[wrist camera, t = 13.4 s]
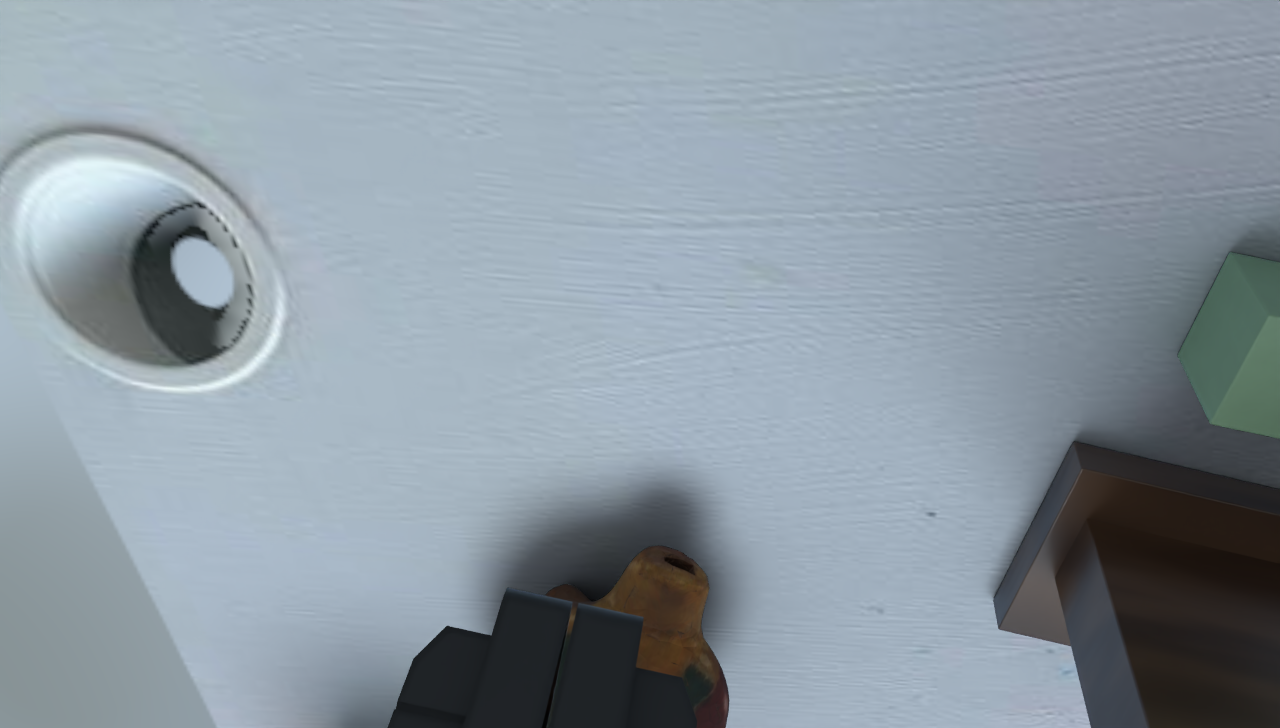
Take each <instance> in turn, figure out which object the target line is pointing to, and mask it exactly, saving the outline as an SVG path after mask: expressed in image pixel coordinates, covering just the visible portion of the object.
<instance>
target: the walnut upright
mask: <svg viewBox="0 0 1280 728" xmlns="http://www.w3.org/2000/svg"><path fill="white" fill-rule="evenodd" d="M993 602H994V607H995V613H996V619H997V624H998V629H1000V630H1004V631H1008V632H1012V633H1017V634H1021V635H1025V636H1030V637H1034V638H1038V639H1042V640H1047V641H1051V642H1055V643H1059V644H1064V645H1068V646H1071V647H1072V651H1073V656H1074V660H1075V664H1076V668H1077V672H1078V676H1079V680H1080V684H1081V688H1082V692H1083V696H1084V701H1085V705H1086V709H1087V713H1088V717H1089V721H1090V725H1091V728H1280V490H1278V489H1274V488H1270V487H1266V486H1261V485H1257V484H1253V483H1249V482H1244V481H1240V480H1236V479H1232V478H1227V477H1223V476H1219V475H1214V474H1210V473H1206V472H1202V471H1197V470H1193V469H1189V468H1185V467H1180V466H1176V465H1172V464H1168V463H1163V462H1159V461H1155V460H1150V459H1146V458H1142V457H1138V456H1133V455H1129V454H1125V453H1121V452H1116V451H1112V450H1108V449H1103V448H1099V447H1095V446H1091V445H1086V444H1082V443H1078V442H1073V444H1072V446H1071V448H1070V450H1069V452H1068V454H1067V456H1066V458H1065V460H1064V462H1063V463H1062V465H1061V467H1060V469H1059V471H1058V473H1057V475H1056V477H1055V479H1054V481H1053V483H1052V485H1051V487H1050V489H1049V491H1048V493H1047V495H1046V497H1045V499H1044V501H1043V503H1042V505H1041V507H1040V509H1039V511H1038V513H1037V515H1036V517H1035V519H1034V521H1033V523H1032V525H1031V527H1030V529H1029V531H1028V533H1027V535H1026V537H1025V538H1024V540H1023V542H1022V544H1021V546H1020V548H1019V550H1018V552H1017V554H1016V556H1015V558H1014V560H1013V562H1012V564H1011V566H1010V568H1009V570H1008V572H1007V574H1006V576H1005V578H1004V580H1003V582H1002V584H1001V586H1000V588H999V590H998V592H997V594H996V596H995V598H994V600H993Z"/></svg>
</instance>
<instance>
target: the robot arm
mask: <svg viewBox="0 0 1280 728" xmlns="http://www.w3.org/2000/svg"><path fill="white" fill-rule="evenodd" d="M572 603H573V602H571V601H567V600H562V599H558V598H553V597H548V596H544V595H539V594H535V593H530V592H526V591H521V590H517V589H512V588H507V589H506V592H505V594H504V597H503V600H502V603H501V606H500V610H499V613H498V616H497V619H496V622H495V626H494V629H493V632H492V635H491V636H490V635H486V634H481V633H477V632H472V631H468V630H463V629H459V628H454V627H450V626H446V627H445V628H444V629H443V630H442V631H441V632H440V633H439V634H438V635H437V636H436V637H435V638H434V639H433V640H432V641H431V642H430V643H429V644H428V645H427V646H426V647H425V648H424V649H423V650H422V651H421V652H420V653H419V654H418V655H417V656H416V657H415V658H414V659H413V661H412V664H411V667H410V669H409V672H408V675H407V677H406V680H405V683H404V685H403V688H402V691H401V693H400V696H399V698H398V701H397V706H396V709H394V712H393V714H392V717H391V720H390V722H389V725H388V728H547V724H548V720H549V715H550V711H551V706H552V701H553V697H554V692H555V687H556V682H557V677H558V672H559V667H560V662H561V658H562V653H563V648H564V643H565V638H566V633H567V628H568V623H569V619H570V614H571V609H572ZM643 619H644V618H643V617H641V616H636V615H632V614H627V613H623V612H618V611H613V610H609V609H604V608H600V607H595V606H591V605H586V604H582V603H578V607H577V611H576V615H575V619H574V624H573V628H572V632H571V636H570V641H569V645H568V649H567V653H566V658H565V662H564V666H563V670H562V675H561V679H560V683H559V687H558V692H557V696H556V700H555V704H554V709H553V713H552V717H551V721H550V726H549V728H697V719H696V716H695V713H694V710H693V707H692V704H691V702H690V699H689V696H688V693H687V690H686V687H685V685H684V682H683V679H682V677H678V676H673V675H669V674H664V673H660V672H655V671H651V670H646V669H642V668H637V667H636V663H637V657H638V651H639V645H640V639H641V633H642V627H643Z"/></svg>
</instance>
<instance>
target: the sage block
mask: <svg viewBox="0 0 1280 728" xmlns="http://www.w3.org/2000/svg"><path fill="white" fill-rule="evenodd" d="M1178 358H1179V360H1180V362H1181V364H1182V366H1183V368H1184V370H1185V373H1186V375H1187V377H1188V379H1189V381H1190V383H1191V385H1192V387H1193V389H1194V391H1195V393H1196V396H1197V398H1198V400H1199V402H1200V404H1201V406H1202V408H1203V410H1204V412H1205V414H1206V416H1207V419H1208V421H1209V423H1210V424H1212V425H1216V426H1221V427H1225V428H1230V429H1235V430H1240V431H1244V432H1249V433H1254V434H1259V435H1263V436H1268V437H1273V438H1278V439H1280V262H1275V261H1270V260H1265V259H1260V258H1256V257H1251V256H1246V255H1241V254H1236V253H1232V252H1230V253H1229V254H1228V256H1227V258H1226V260H1225V262H1224V264H1223V266H1222V268H1221V270H1220V272H1219V274H1218V276H1217V278H1216V280H1215V282H1214V284H1213V286H1212V288H1211V290H1210V292H1209V294H1208V296H1207V298H1206V300H1205V302H1204V304H1203V306H1202V308H1201V310H1200V312H1199V314H1198V316H1197V317H1196V319H1195V321H1194V323H1193V325H1192V327H1191V329H1190V331H1189V333H1188V335H1187V337H1186V339H1185V341H1184V343H1183V345H1182V347H1181V349H1180V351H1179V353H1178Z"/></svg>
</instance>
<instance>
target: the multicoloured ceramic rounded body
mask: <svg viewBox="0 0 1280 728" xmlns="http://www.w3.org/2000/svg"><path fill="white" fill-rule="evenodd" d="M708 592H709V583H708V578H707V576H706V574H705V573H704V571H703V570H702V569H701V568H700V567H699V566H698V564H697V563H696V562H695V561H694V560H693V559H691V558H689V557H687V555H685V554H684V553H682V552H680V551H678V550H675V549H672V548H669V547H665V546H651V547H647V548H646V549H644V550H643V551H641V552H640V553H639V554H638V555H637V556H636V557H635V558H634V559H633V560H632V561H631V563H630V564H629V565H628V566H627V568H626V569H625V571H624V572H623V574H622V576H621V577H620V579H619V580H618V582H617V583H616V585H615V586H614V587H613V588H612V590H611V591H610V592H609V593H608V594H607V595H606V596H604V597H603V598H602V599H599V600H597V601H590V600H589V599H588V598H587V597H586V596H585V595H584V594H583V593H582V592H581V591H580V590H579V589H578V588H576V587H574V586H572V585H569V584H563V585H560V586H557V587H555V588H553V589H552V590H550V591H549V592H548V593H547V594H546V595H544V596H548V597H553V598H558V599H562V600H567V601H571V602H573V603H572V609H571V614H570V619H569V623H568V628H567V633H566V638H565V643H564V648H563V653H562V658H561V662H560V667H559V672H558V677H557V682H556V687H555V692H554V697H553V701H552V706H551V711H550V715H549V720H548V724H547V728H549V726H550V721H551V717H552V713H553V709H554V704H555V700H556V696H557V692H558V687H559V683H560V679H561V675H562V670H563V666H564V662H565V658H566V653H567V649H568V645H569V641H570V636H571V632H572V628H573V624H574V619H575V615H576V611H577V607H578V603H582V604H586V605H591V606H595V607H600V608H604V609H609V610H613V611H618V612H623V613H627V614H632V615H636V616H641V617H643V618H644V619H643V627H642V633H641V639H640V645H639V651H638V657H637V663H636V667H637V668H642V669H646V670H651V671H655V672H660V673H664V674H669V675H673V676H678V677H682V679H683V682H684V685H685V687H686V690H687V693H688V696H689V699H690V702H691V704H692V707H693V710H694V713H695V716H696V719H697V728H725V727H726V722H727V717H728V711H729V694H728V687H727V683H726V680H725V677H724V674H723V671H722V668H721V666H720V664H719V662H718V660H717V658H716V656H715V655H714V653H713V651H712V650H711V648H710V647H709V645H708V644H707V642H706V641H705V639H704V638H703V633H702V629H701V621H702V615H703V611H704V607H705V603H706V599H707V596H708Z"/></svg>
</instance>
